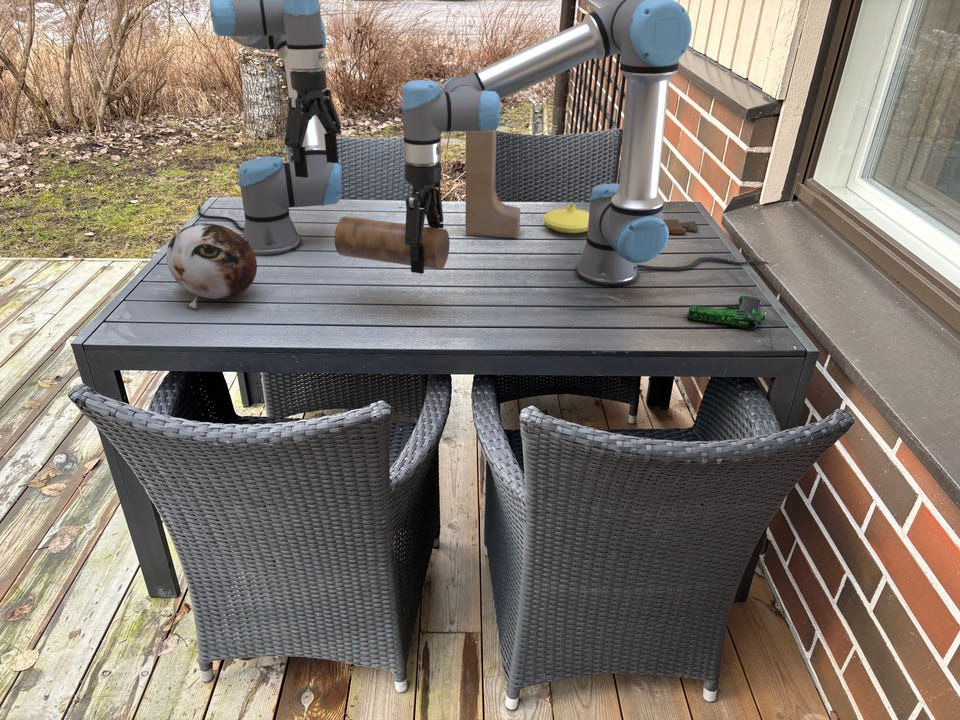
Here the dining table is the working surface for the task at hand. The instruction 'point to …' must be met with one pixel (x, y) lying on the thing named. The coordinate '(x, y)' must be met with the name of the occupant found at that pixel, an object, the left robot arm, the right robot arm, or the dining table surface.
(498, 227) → the decorative block
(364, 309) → the dining table surface
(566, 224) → the yellow lid
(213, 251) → the cat face balloon
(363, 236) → the rod
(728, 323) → the handgun
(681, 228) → the brown jagged flat piece
